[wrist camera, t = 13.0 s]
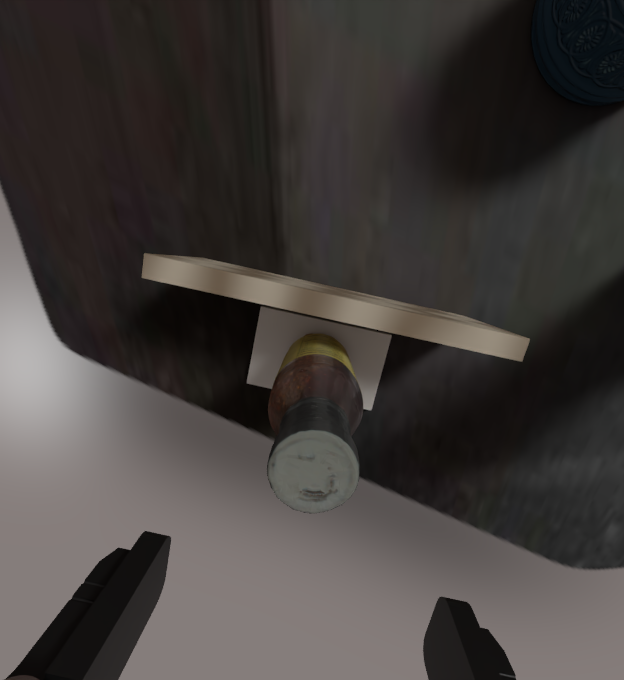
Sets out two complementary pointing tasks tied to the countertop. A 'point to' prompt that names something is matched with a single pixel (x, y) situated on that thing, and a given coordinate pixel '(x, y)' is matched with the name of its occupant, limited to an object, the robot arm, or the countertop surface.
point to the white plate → (288, 327)
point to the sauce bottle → (314, 426)
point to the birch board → (334, 304)
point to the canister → (581, 48)
